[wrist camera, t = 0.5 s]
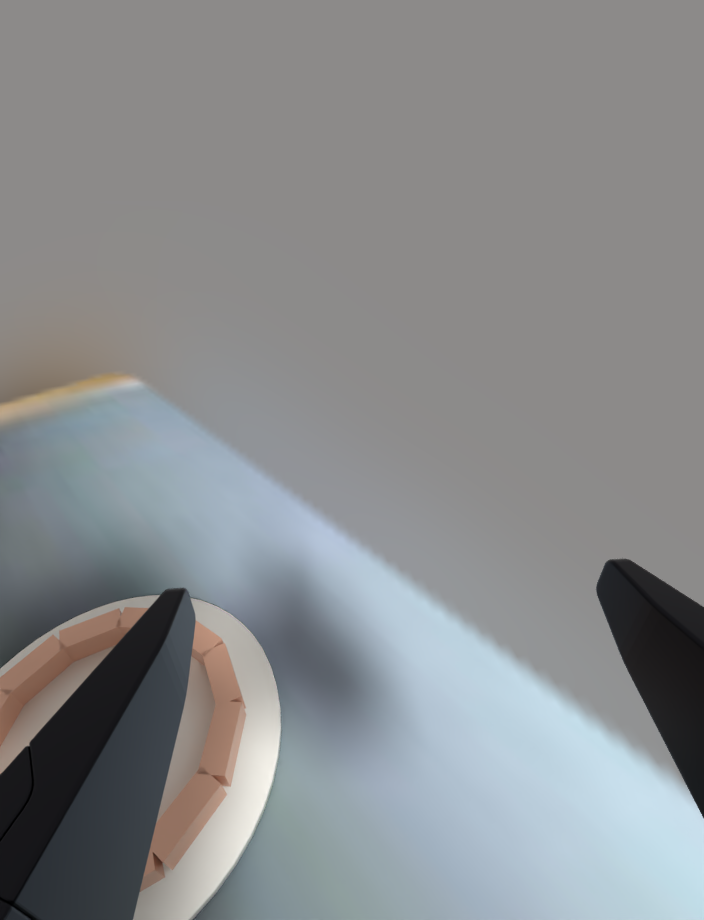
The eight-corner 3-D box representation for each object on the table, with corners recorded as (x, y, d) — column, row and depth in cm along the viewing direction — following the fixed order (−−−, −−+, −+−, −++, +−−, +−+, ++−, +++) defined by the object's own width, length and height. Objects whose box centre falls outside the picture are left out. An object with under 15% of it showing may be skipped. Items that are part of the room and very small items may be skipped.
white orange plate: (238, 1019, 16) (226, 1020, 15) (-201, 981, 17) (-253, 978, 15) (302, 608, 28) (299, 586, 27) (46, 597, 29) (30, 575, 28)
